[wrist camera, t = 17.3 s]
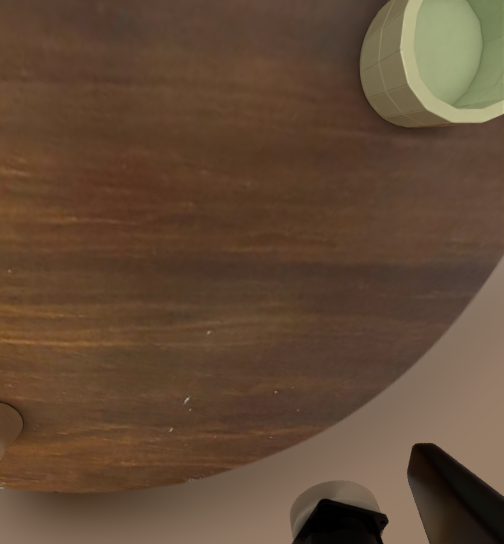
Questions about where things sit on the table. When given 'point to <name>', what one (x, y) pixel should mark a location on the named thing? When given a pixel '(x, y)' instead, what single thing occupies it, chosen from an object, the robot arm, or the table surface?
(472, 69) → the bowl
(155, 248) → the table surface
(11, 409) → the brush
